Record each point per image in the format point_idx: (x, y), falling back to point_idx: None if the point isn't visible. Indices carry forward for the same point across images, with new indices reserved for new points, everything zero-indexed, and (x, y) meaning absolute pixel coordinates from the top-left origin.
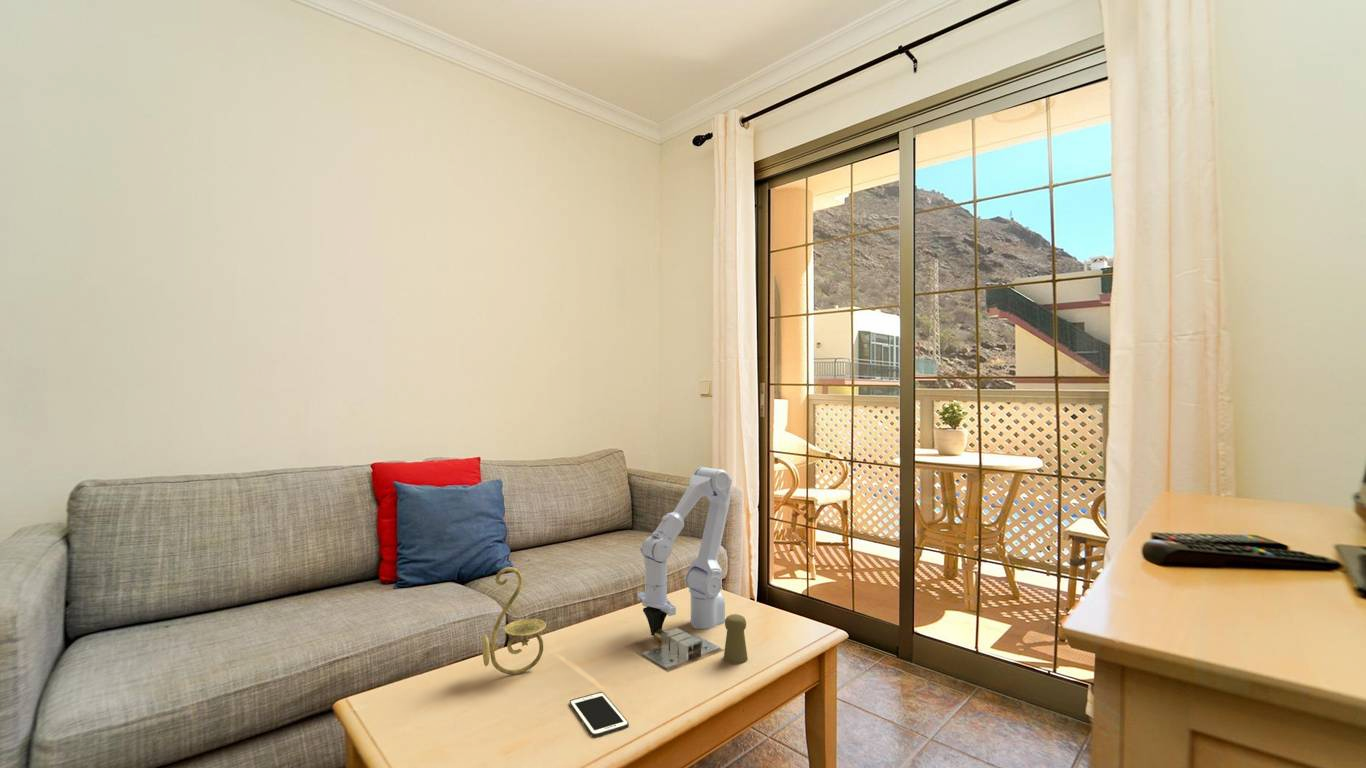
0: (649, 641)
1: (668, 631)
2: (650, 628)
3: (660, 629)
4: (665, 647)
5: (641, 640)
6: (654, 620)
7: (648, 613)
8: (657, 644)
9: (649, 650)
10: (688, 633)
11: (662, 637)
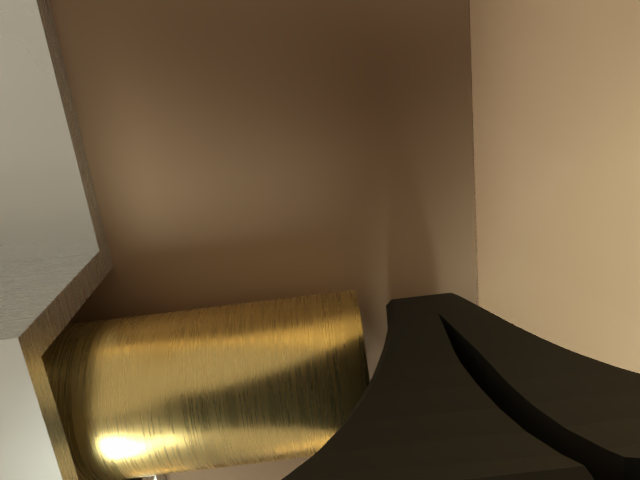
0: (375, 206)
1: (31, 465)
2: (481, 319)
3: (336, 424)
4: (2, 265)
5: (472, 130)
6: (340, 436)
7: (550, 455)
8: (234, 250)
9: (36, 28)
10: None
11: (19, 308)
